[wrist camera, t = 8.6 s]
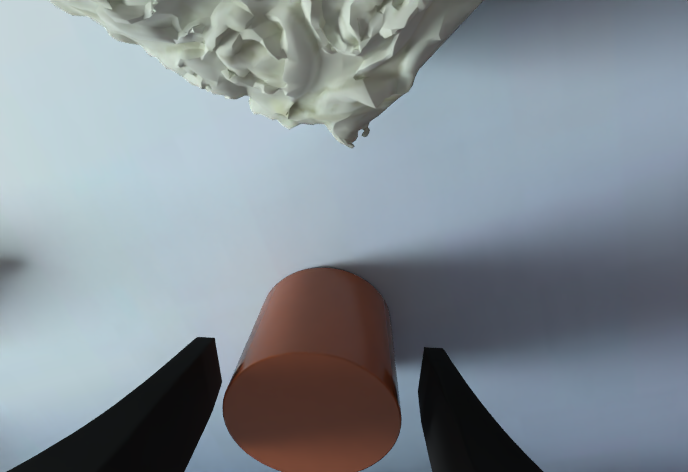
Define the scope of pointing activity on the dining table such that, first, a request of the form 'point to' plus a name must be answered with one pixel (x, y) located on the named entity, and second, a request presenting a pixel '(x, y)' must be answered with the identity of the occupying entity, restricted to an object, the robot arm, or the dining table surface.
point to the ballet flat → (289, 50)
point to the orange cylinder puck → (317, 377)
